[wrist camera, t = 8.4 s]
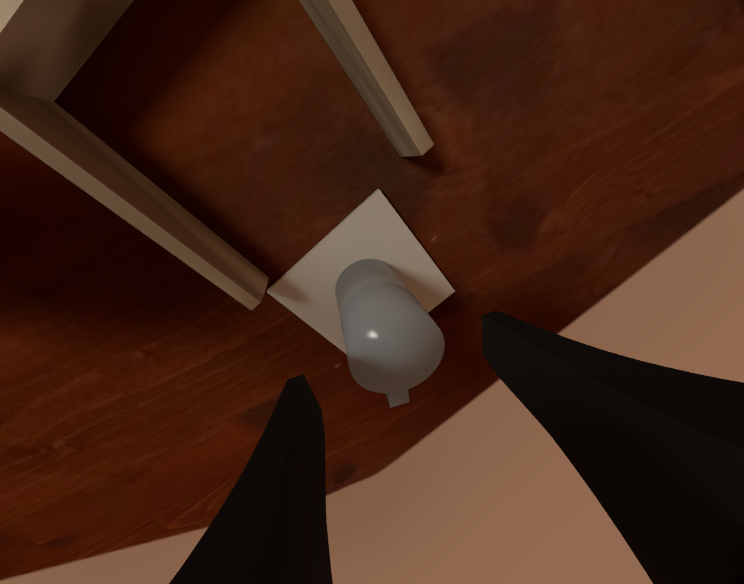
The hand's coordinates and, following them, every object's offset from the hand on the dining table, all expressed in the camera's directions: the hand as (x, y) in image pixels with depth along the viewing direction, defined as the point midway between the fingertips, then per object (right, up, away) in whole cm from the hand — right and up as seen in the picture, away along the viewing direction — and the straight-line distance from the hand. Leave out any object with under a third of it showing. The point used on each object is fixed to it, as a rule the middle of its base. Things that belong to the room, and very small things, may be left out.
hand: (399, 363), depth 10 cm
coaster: (-1, +3, +9) cm, 10 cm away
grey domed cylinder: (-1, +2, +10) cm, 10 cm away
